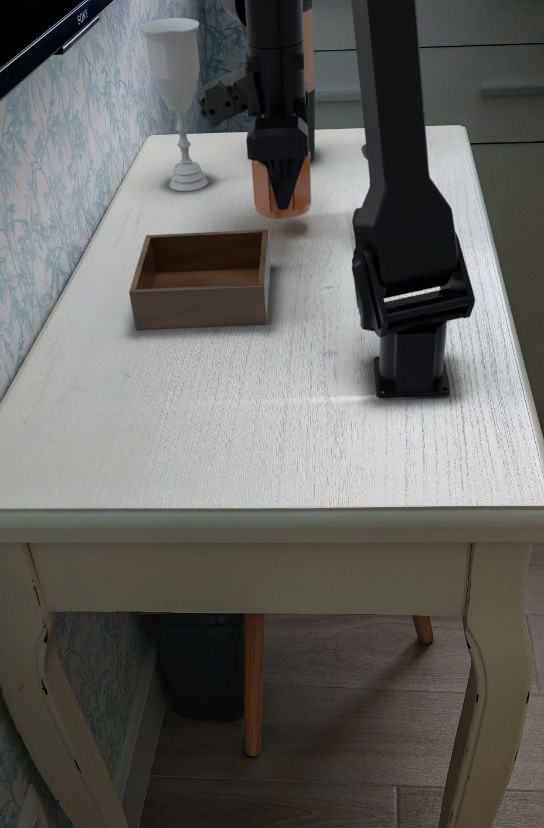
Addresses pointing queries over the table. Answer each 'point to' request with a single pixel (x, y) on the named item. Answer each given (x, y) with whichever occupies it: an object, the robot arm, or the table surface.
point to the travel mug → (309, 72)
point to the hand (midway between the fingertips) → (283, 197)
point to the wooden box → (202, 280)
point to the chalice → (176, 84)
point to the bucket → (266, 196)
